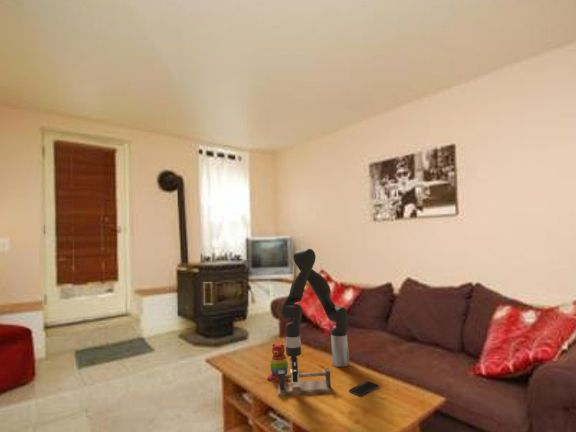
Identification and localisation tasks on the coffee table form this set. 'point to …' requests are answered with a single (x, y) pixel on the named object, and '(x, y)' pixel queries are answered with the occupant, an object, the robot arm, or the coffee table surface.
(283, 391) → the grey slider rail toy
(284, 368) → the stacking bear
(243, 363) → the coffee table surface
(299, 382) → the sleeve
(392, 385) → the coffee table surface
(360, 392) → the phone
